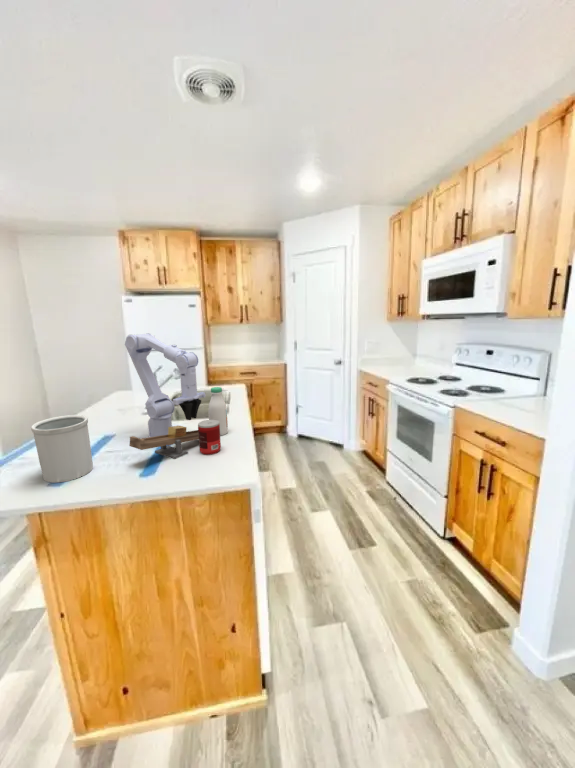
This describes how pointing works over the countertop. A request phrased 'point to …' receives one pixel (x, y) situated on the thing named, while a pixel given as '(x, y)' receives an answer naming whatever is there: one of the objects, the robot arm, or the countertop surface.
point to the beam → (161, 440)
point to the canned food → (209, 436)
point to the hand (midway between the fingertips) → (191, 418)
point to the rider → (176, 431)
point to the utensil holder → (63, 447)
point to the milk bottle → (218, 409)
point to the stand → (172, 450)
